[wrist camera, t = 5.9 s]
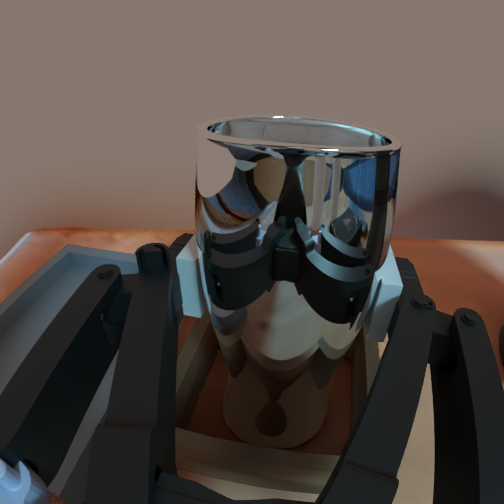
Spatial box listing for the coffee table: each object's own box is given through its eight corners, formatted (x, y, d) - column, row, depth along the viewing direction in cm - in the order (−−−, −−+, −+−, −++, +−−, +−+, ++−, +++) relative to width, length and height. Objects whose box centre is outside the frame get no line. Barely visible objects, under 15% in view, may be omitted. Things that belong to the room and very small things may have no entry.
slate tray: (199, 288, 27) (196, 263, 26) (80, 510, 10) (58, 496, 9) (73, 265, 30) (67, 244, 28) (-55, 407, 13) (-73, 385, 11)
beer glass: (336, 369, 20) (386, 125, 12) (329, 464, 14) (440, 167, 6) (231, 354, 21) (225, 111, 13) (199, 443, 15) (147, 142, 7)
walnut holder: (362, 351, 21) (374, 314, 19) (360, 495, 12) (384, 472, 10) (213, 331, 23) (210, 293, 21) (157, 461, 14) (140, 432, 12)
